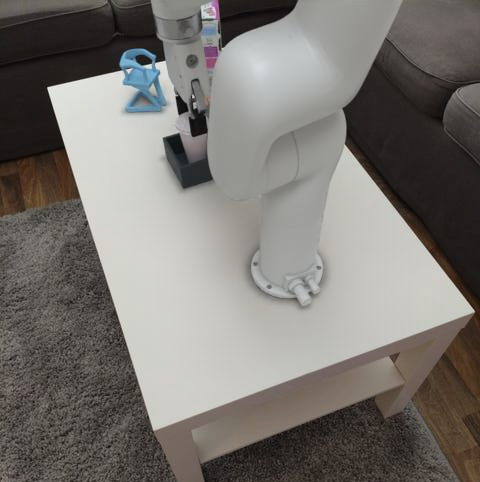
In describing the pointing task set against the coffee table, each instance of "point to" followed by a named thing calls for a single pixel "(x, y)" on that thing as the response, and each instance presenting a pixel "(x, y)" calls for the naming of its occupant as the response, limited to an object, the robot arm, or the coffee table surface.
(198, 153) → the smoothie
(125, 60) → the chair
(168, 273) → the coffee table surface
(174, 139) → the box
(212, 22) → the candy bar box
